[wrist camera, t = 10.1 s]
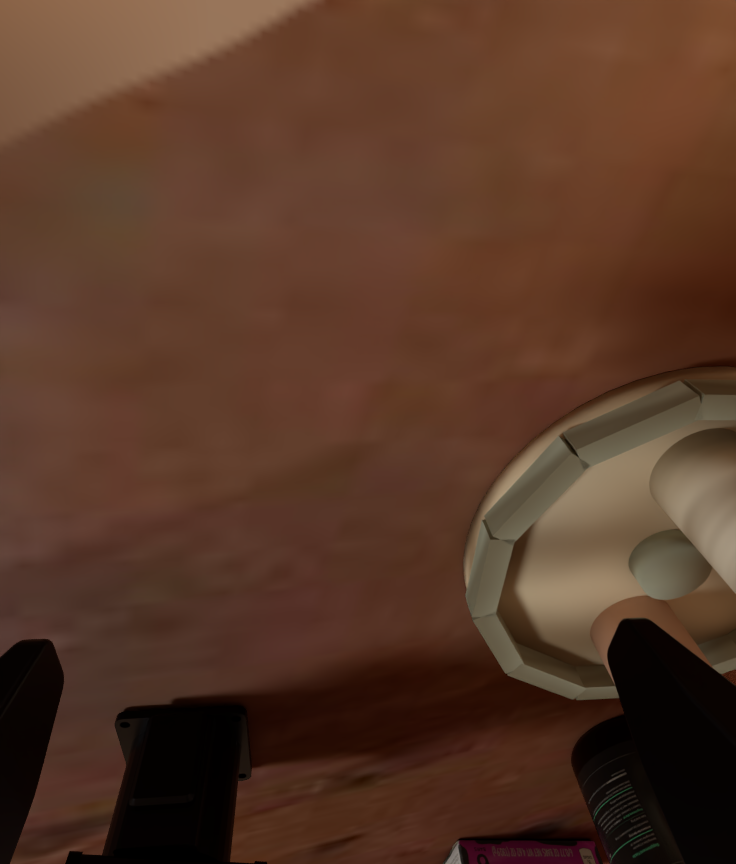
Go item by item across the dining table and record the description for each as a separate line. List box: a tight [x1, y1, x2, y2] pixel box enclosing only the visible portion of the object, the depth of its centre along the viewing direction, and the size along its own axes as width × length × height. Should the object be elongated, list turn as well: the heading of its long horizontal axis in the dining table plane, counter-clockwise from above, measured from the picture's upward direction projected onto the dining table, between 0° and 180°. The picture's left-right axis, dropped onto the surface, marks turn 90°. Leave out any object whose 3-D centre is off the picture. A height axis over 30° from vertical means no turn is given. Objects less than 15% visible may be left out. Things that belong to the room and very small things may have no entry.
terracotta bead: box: [590, 596, 714, 684], centre depth 25 cm, size 4×4×5 cm
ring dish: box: [463, 366, 736, 700], centre depth 24 cm, size 17×17×2 cm
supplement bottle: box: [571, 716, 685, 864], centre depth 29 cm, size 7×7×12 cm
